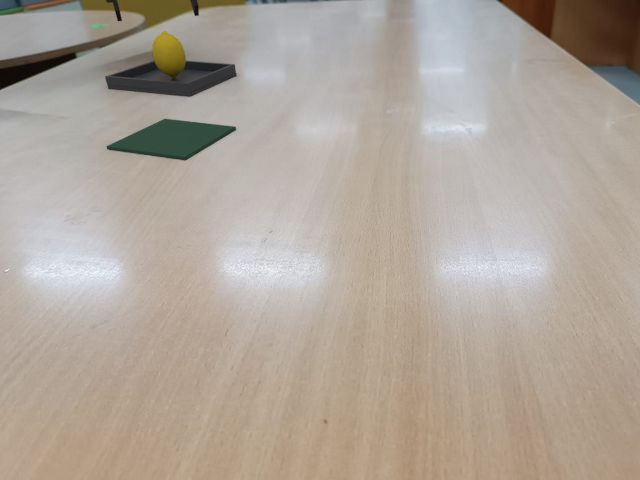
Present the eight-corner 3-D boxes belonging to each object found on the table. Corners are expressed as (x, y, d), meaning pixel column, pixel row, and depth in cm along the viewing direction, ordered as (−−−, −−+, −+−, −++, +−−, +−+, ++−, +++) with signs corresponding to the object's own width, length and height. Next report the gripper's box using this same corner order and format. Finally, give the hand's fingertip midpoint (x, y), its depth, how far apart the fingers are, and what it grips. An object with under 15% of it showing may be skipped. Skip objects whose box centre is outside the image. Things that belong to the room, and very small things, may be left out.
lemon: (165, 83, 91) (155, 35, 87) (153, 78, 95) (142, 31, 90) (194, 78, 94) (186, 31, 90) (181, 73, 98) (172, 27, 93)
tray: (108, 88, 91) (104, 76, 90) (162, 69, 103) (159, 58, 102) (189, 96, 86) (187, 83, 85) (236, 75, 98) (234, 64, 97)
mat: (106, 149, 66) (106, 146, 66) (165, 121, 75) (164, 118, 75) (185, 160, 63) (184, 156, 62) (236, 129, 72) (235, 126, 72)
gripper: (199, -70, 104) (226, 22, 101) (63, -68, 95) (88, 32, 92) (198, -103, 97) (227, -6, 94) (52, -104, 88) (78, 2, 85)
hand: (158, 13), depth 93 cm, fingers open, 13 cm apart
